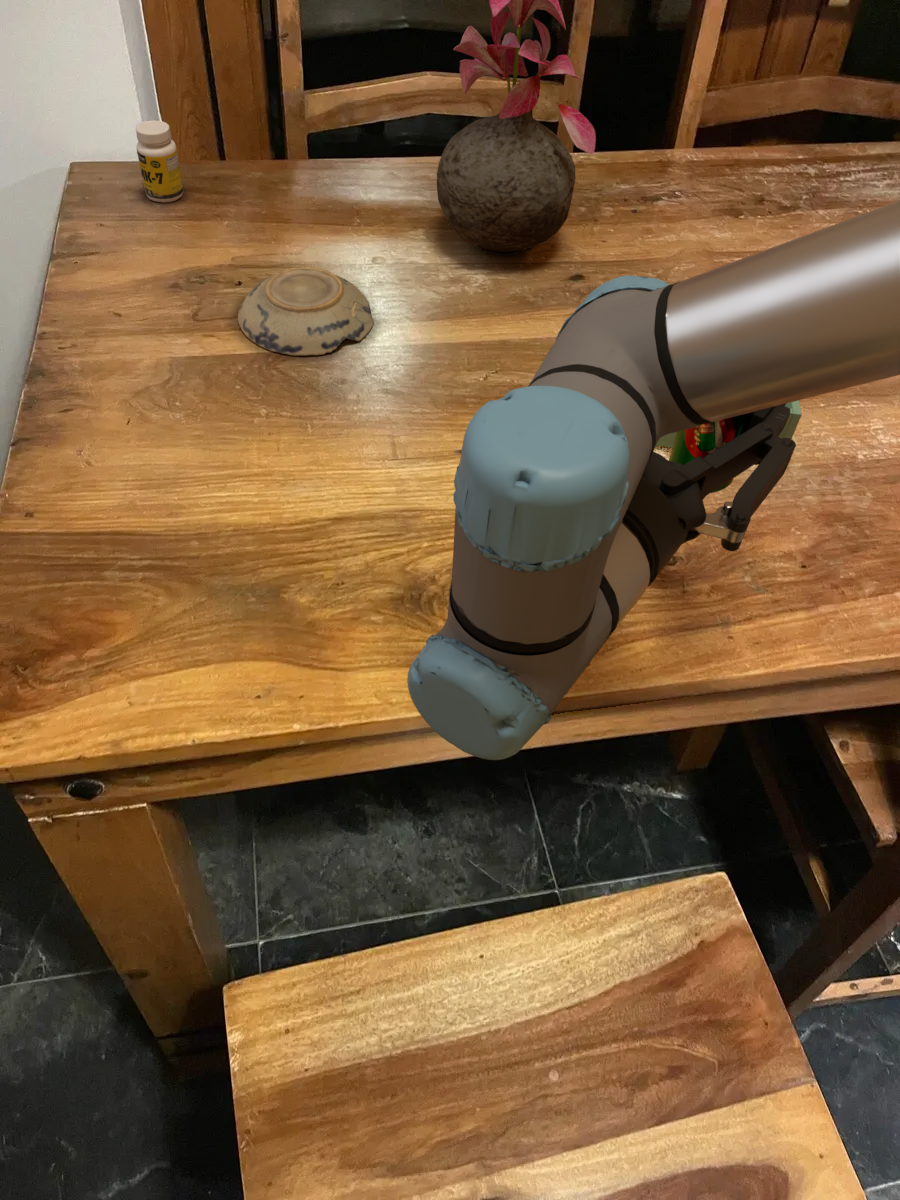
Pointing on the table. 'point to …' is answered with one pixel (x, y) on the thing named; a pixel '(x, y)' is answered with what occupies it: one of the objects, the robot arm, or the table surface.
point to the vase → (511, 143)
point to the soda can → (708, 439)
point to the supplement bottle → (158, 162)
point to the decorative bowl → (304, 312)
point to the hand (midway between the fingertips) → (750, 372)
